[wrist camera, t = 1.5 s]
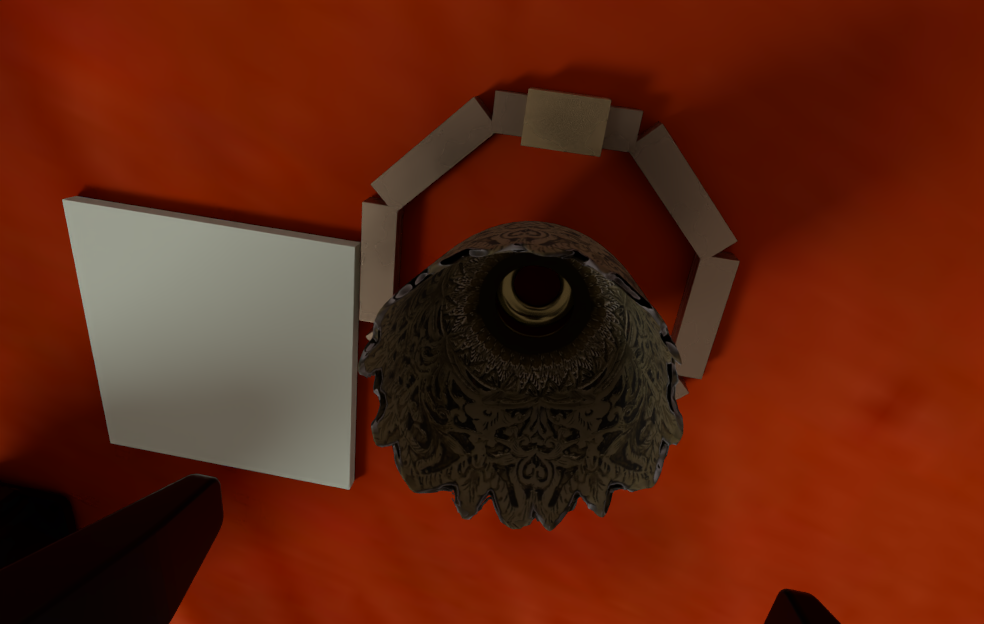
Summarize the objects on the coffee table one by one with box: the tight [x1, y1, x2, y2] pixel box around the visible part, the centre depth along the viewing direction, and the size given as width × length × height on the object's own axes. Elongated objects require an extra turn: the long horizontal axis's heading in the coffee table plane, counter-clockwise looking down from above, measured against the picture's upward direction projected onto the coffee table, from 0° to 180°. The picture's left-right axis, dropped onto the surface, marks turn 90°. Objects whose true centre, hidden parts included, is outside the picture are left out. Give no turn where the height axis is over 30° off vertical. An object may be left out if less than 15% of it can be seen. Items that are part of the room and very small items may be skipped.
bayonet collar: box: [359, 87, 740, 400], centre depth 19 cm, size 13×12×1 cm
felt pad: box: [62, 196, 361, 490], centre depth 22 cm, size 11×11×1 cm
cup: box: [358, 221, 683, 531], centre depth 16 cm, size 8×7×8 cm
